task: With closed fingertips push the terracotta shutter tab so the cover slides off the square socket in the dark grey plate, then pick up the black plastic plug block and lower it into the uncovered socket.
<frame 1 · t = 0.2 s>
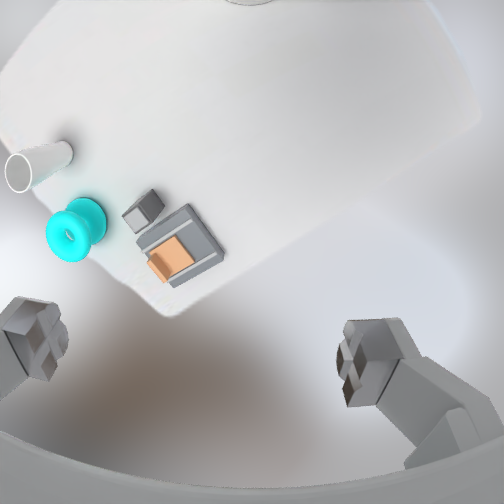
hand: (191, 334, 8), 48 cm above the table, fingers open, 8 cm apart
shutter: (170, 260, 56), point 5 cm above the table, slide at 0.0 cm
plug: (150, 203, 56), on the table
socket plate: (181, 244, 60), on the table
drinking glass: (63, 153, 51), on the table
donuts: (88, 218, 57), on the table
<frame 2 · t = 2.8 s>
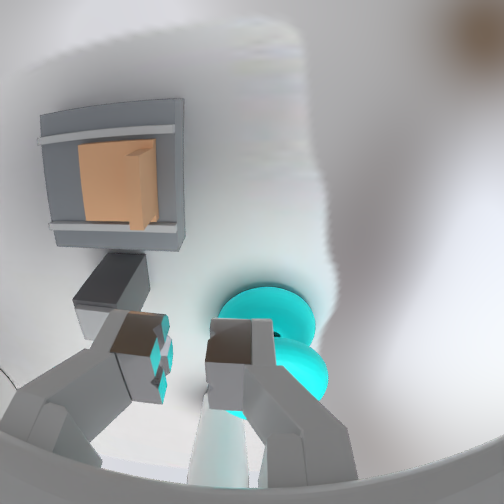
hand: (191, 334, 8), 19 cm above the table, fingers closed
shutter: (109, 186, 20), point 5 cm above the table, slide at 0.0 cm
plug: (129, 271, 29), on the table
socket plate: (117, 171, 25), on the table
drinking glass: (223, 396, 38), on the table
donuts: (265, 319, 32), on the table
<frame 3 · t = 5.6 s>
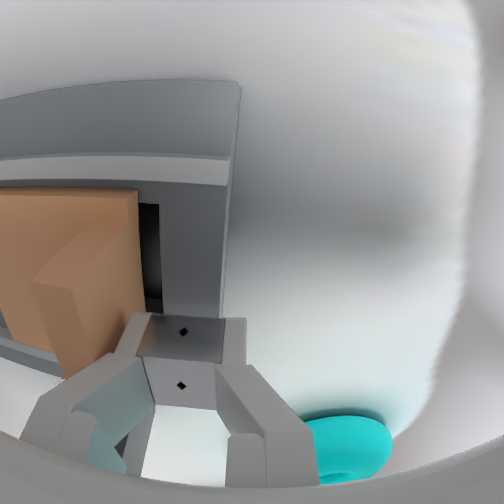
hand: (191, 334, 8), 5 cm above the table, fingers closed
shutter: (33, 309, 7), point 5 cm above the table, slide at 1.0 cm, touching gripper
plug: (120, 387, 16), on the table
socket plate: (86, 236, 12), on the table
donuts: (321, 440, 20), on the table
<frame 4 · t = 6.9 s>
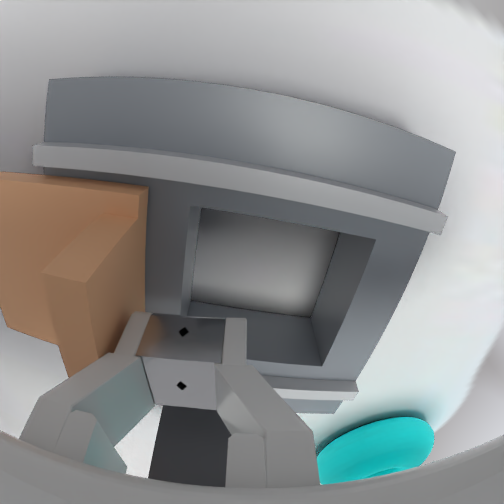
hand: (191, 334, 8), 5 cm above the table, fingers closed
shutter: (33, 298, 7), point 5 cm above the table, slide at 7.0 cm, touching gripper
plug: (203, 399, 17), on the table
socket plate: (226, 250, 12), on the table
donuts: (371, 441, 21), on the table
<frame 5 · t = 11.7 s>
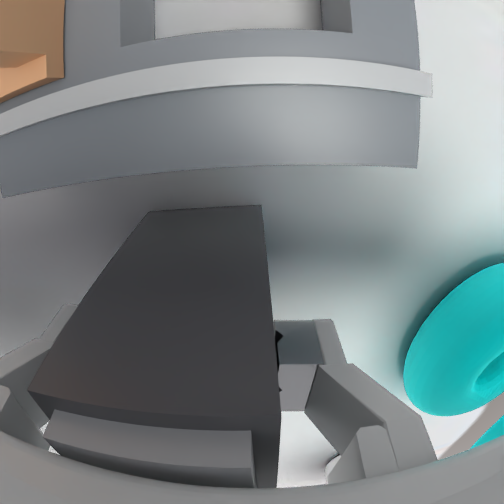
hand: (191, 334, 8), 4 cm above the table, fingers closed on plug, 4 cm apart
plug: (209, 258, 12), on the table, touching gripper
donuts: (469, 327, 14), on the table
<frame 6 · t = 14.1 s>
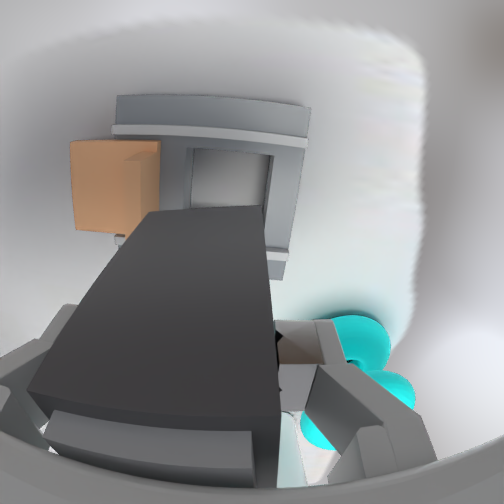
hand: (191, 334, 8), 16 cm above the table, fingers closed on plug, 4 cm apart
shutter: (104, 194, 17), point 5 cm above the table, slide at 7.4 cm
plug: (209, 258, 12), point 12 cm above the table, touching gripper
socket plate: (208, 179, 22), on the table
drinking glass: (273, 418, 36), on the table
donuts: (339, 346, 30), on the table
when the fingers open (5 cm above the table, at t = 16.7 s): plug stays where it is, resting in socket plate.
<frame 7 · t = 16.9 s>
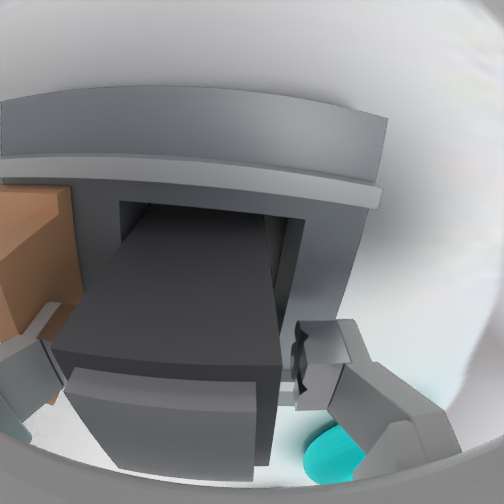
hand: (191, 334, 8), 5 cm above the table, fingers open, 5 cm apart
plug: (209, 247, 12), resting in socket plate
socket plate: (177, 243, 12), on the table
donuts: (362, 435, 20), on the table
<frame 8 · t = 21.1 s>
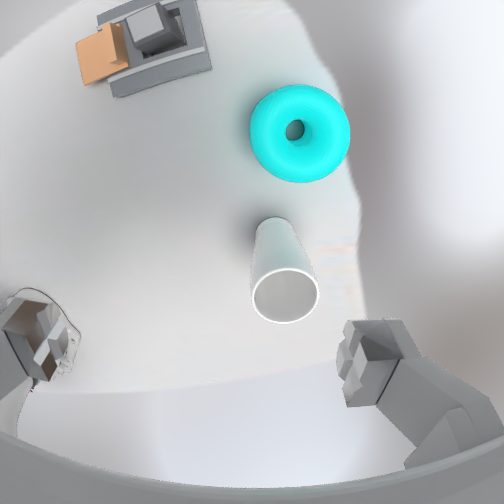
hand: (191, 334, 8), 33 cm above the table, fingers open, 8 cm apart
shutter: (96, 53, 27), point 5 cm above the table, slide at 7.5 cm
plug: (165, 37, 31), resting in socket plate
socket plate: (155, 41, 31), on the table
drinking glass: (274, 233, 43), on the table
donuts: (289, 127, 36), on the table
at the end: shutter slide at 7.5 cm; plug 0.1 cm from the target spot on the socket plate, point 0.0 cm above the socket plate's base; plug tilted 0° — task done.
